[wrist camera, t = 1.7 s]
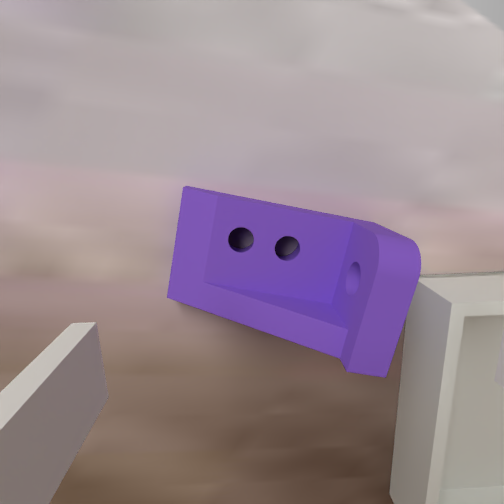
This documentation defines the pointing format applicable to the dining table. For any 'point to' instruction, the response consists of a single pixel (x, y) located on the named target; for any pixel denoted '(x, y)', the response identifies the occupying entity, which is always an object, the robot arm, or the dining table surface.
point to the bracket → (297, 275)
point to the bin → (451, 393)
